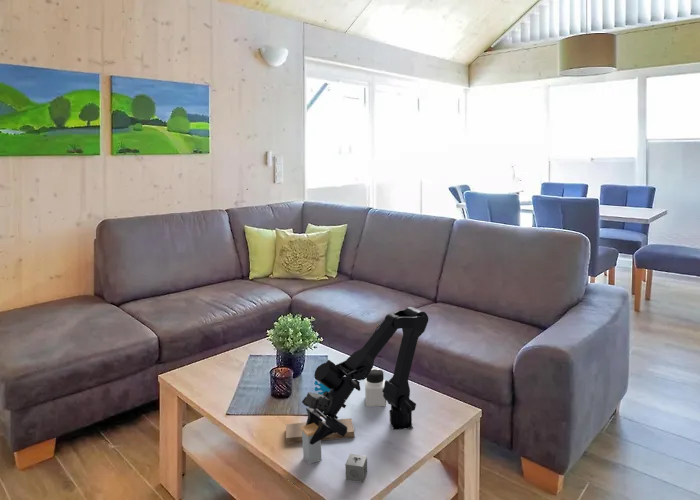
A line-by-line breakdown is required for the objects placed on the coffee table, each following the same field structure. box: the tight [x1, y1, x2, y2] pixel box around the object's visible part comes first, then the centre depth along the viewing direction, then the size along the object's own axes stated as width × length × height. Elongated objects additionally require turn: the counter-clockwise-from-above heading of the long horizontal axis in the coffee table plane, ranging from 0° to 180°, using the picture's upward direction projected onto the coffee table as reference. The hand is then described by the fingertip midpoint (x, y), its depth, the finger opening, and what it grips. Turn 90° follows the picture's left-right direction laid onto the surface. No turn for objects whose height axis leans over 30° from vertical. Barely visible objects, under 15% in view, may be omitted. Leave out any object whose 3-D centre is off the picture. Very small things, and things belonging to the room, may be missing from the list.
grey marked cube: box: [344, 453, 368, 483], centre depth 148 cm, size 5×5×5 cm
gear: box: [314, 380, 331, 395], centre depth 196 cm, size 11×6×10 cm
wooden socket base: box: [285, 417, 355, 444], centre depth 169 cm, size 22×8×2 cm, turn 96°
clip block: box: [301, 423, 322, 465], centre depth 156 cm, size 4×4×10 cm
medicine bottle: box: [364, 367, 387, 408], centre depth 187 cm, size 7×7×12 cm
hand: (307, 440), depth 155 cm, fingers closed on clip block, 4 cm apart
